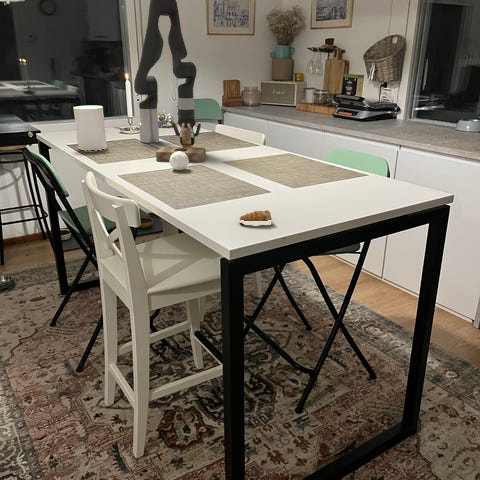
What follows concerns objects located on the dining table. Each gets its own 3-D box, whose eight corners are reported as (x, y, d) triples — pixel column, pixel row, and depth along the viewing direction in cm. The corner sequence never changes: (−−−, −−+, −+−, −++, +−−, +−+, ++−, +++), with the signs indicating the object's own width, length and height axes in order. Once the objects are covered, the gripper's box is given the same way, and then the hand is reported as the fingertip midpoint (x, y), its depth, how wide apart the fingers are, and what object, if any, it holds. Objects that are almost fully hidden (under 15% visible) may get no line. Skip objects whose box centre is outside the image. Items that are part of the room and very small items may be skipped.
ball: (181, 177, 201) (179, 164, 194) (167, 168, 203) (164, 155, 197) (193, 165, 204) (191, 153, 197) (179, 157, 207) (176, 144, 200)
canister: (99, 151, 235) (94, 109, 228) (73, 150, 238) (68, 108, 230) (111, 146, 247) (107, 105, 240) (86, 145, 250) (82, 105, 242)
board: (156, 160, 217) (155, 151, 215) (163, 155, 228) (163, 146, 227) (200, 162, 215) (200, 153, 213) (205, 156, 226) (205, 147, 224)
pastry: (241, 228, 138) (241, 216, 136) (236, 221, 144) (236, 208, 143) (273, 226, 140) (274, 214, 138) (267, 219, 146) (267, 206, 144)
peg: (182, 153, 232) (181, 127, 227) (184, 151, 236) (183, 126, 231) (191, 153, 231) (190, 128, 227) (192, 152, 235) (192, 126, 231)
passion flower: (162, 136, 306) (149, 121, 301) (165, 130, 315) (153, 115, 310) (176, 126, 302) (163, 110, 297) (178, 120, 312) (166, 105, 307)
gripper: (169, 108, 223) (171, 146, 229) (199, 109, 221) (200, 146, 228) (173, 106, 230) (174, 143, 236) (202, 107, 228) (203, 143, 235)
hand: (187, 144), depth 232 cm, fingers closed on peg, 4 cm apart
